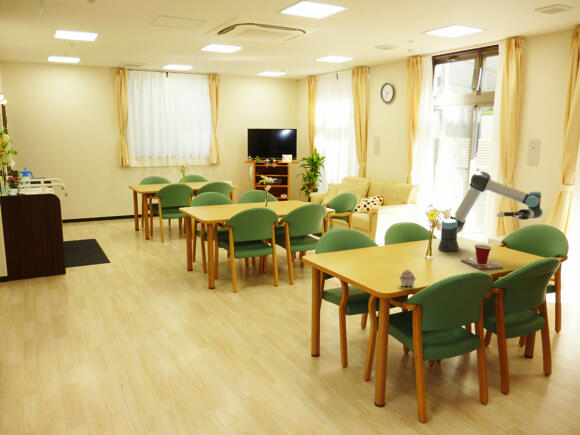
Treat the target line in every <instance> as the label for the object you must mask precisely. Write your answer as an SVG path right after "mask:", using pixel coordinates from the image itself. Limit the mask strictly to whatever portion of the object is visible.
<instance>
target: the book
mask: <svg viewBox="0 0 580 435" xmlns="http://www.w3.org/2000/svg"><path fill="white" fill-rule="evenodd" d="M460 262H462V263H464V264H466V265H468V266H470V267H472V268H474V269H477V270H479V271H488V270H489V269H491V270H502V269H503V268H504V266H502V265H500V264H497V263H496V262H492V261H490V260H488V259H487V263H486V264H479V263H477V258H475V257H474V258H472V257H471V258H469V257H468V258H462V259H461V258H460ZM489 271H490V270H489Z"/></svg>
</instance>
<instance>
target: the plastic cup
mask: <svg viewBox="0 0 580 435" xmlns="http://www.w3.org/2000/svg"><path fill="white" fill-rule="evenodd" d="M474 248H475V249H474V250H475V256H476V258H477V263H479V264H486V263H487V260H488V259H489V256H490V252H491V250H492V248H493V247H492V246H490V245H485V244H474Z"/></svg>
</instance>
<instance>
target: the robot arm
mask: <svg viewBox="0 0 580 435" xmlns="http://www.w3.org/2000/svg"><path fill="white" fill-rule="evenodd" d="M487 191H489V192H492V193H495V194H497V195H499V196H503V197H505V198H508V199H511V200H513V201H516V202H518V203H521V204H523V205H526V206H527V207H528V208H521V209H519V210H518V211H501V212H499V213H497V214H496V217H497V218H504V217H513V218H514V220H515V221H519V220H521V221H523V220H530V219H537V218H538V219H539V218H541V217H542V216H543V214H544V212H543V209H542V208H541V201H542V200H541V199H542V192H541V191H536V190H535V191H532V190H531V191H529V193H528V192H525V191H522V190H519V189H516V188H514V187H511V186H508V185H506V184H503V183H500V182H497V181H495V180H493V179H492V178H491V175H490V174H489V173H488V172H485V171H479V172H476V173H474V174H473V175H471V179H470V183H469V189H468V190H467V192H466V194H465V196H464V198H463V199H462V201H461V202H460V205H459V206H458V208H457V209H456V211H455V213H454V214H452V215H451V216H450V217H449V218H447V219H442V221H441V224H440V225H442V229H441V230H440V231H441V232H440V233H441V234H440V240H439V241H440V242H439V245H438V251H441V252H449V253H454V252H459V251H460V247H459V243H458V240H457V239H458V234H459V233H460V232H462V231H463V229H464V226H465V224H466V222H467V221H466V218H467V216H468V215H469V213H470V211H471V209H473V207H474V205H475V203H476V201H477V200H478V199H479V196H480V195H481V193H484V192H487Z"/></svg>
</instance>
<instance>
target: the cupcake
mask: <svg viewBox="0 0 580 435" xmlns="http://www.w3.org/2000/svg"><path fill="white" fill-rule="evenodd" d="M399 279H400V282H401V284H400V285H402V284H403V285H406V286H412V285H413V286H414V284H415V283H414V282H415V281H416V279H417V278H416V277H415V274H414V273H413V271H411V270H410V269H408V268H407V269H406V270H404V271H403V272H402V273H401V275H400V276H399ZM413 286H412V287H413Z"/></svg>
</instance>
